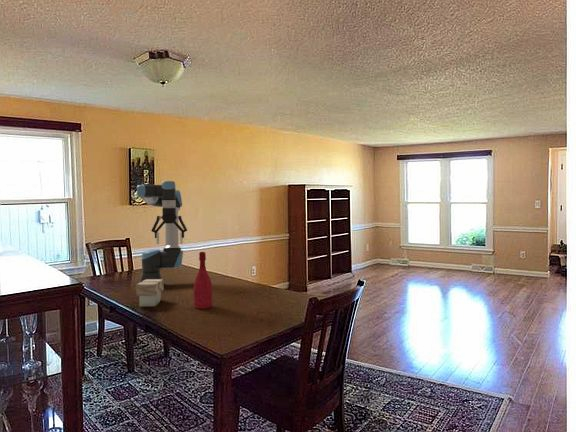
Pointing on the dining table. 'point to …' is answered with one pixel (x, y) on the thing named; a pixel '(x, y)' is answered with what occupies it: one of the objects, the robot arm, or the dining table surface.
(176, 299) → the dining table surface
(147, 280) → the lid
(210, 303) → the wine bottle
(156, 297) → the dish
